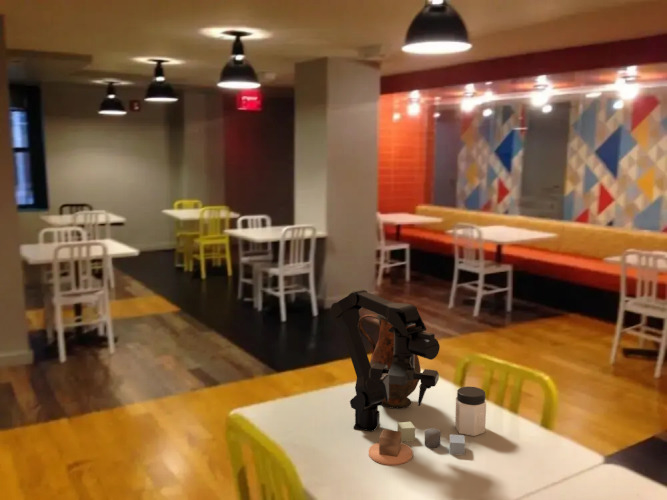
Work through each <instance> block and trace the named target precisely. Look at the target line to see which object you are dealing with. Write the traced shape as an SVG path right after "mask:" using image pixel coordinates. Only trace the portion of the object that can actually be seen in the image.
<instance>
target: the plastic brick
mask: <svg viewBox="0 0 667 500" xmlns="http://www.w3.org/2000/svg"><path fill="white" fill-rule="evenodd" d="M465 439H466V438H465V434H449V455H460V456H465V453H466V452H465V449H466V442H465Z"/></svg>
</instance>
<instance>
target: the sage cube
mask: <svg viewBox="0 0 667 500" xmlns="http://www.w3.org/2000/svg"><path fill="white" fill-rule="evenodd" d="M396 431H400V432H401V443H404V442H411V441H412V442H413V441H415V440H416V427H415V426H414V424H413V423H412V422H411V421H404V422H403V421H402V422H397V430H396Z"/></svg>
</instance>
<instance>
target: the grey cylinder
mask: <svg viewBox="0 0 667 500" xmlns="http://www.w3.org/2000/svg"><path fill="white" fill-rule="evenodd" d="M441 435H442V434H441V430H440V429H437V428H430V427H429V428H427V429H425V430H424V446H425V447H426V448H427V449H434V450H435V449H440V447H441Z"/></svg>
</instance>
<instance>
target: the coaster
mask: <svg viewBox="0 0 667 500" xmlns="http://www.w3.org/2000/svg"><path fill="white" fill-rule="evenodd" d="M368 456H369V458H370V459H371V460H372V461H374V462H375V463H379V464H382V465H387V466H388V465H389V466H397V465H404V464H406V463H408V462H409V461H411V460H412V458H413V450H412V448H411V447H410V446H409V445H407V444H405V443H404V442H401V450H400V452H399V454H398V457H394V456H387V455H381V454H379V442H376V443H374V444H372V445H371V446H370V447H369V448H368Z"/></svg>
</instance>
